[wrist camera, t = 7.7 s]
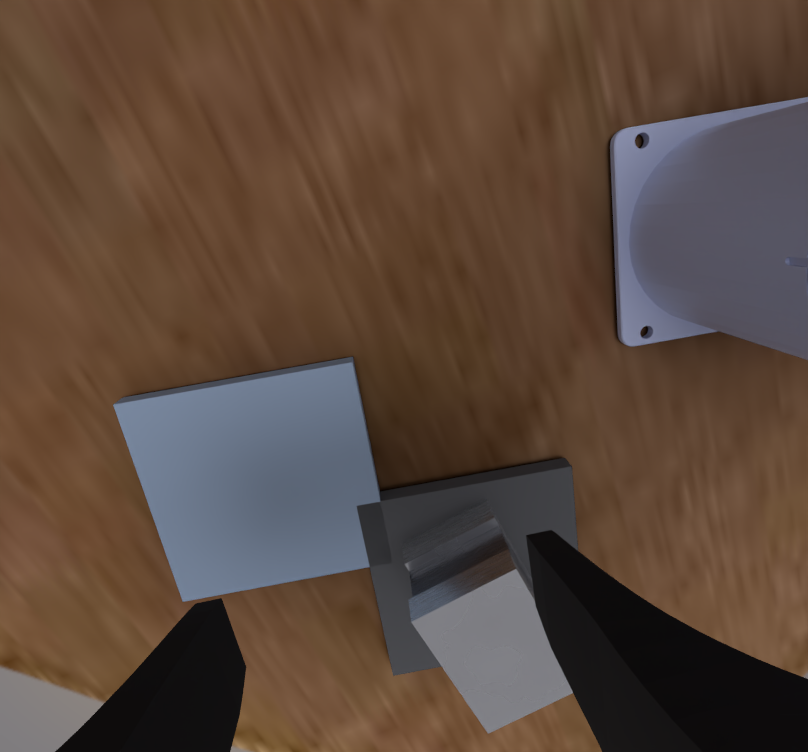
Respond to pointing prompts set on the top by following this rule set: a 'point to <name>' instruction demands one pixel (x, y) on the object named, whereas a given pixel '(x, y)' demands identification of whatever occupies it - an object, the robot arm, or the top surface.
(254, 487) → the stand
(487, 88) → the top surface
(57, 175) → the top surface
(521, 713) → the block
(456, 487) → the stand
